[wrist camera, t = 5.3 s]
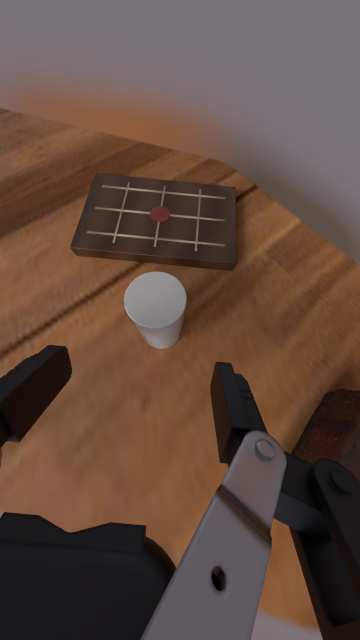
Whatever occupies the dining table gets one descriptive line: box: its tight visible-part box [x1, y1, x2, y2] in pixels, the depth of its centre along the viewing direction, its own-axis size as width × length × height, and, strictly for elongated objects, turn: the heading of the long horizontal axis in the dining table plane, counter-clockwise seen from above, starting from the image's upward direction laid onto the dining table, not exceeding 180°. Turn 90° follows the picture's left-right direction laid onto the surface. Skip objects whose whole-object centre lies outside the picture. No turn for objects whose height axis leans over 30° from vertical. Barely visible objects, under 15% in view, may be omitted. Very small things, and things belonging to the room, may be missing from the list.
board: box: [70, 173, 237, 271], centre depth 24 cm, size 20×13×2 cm, turn 85°
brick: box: [292, 389, 360, 481], centre depth 15 cm, size 11×4×5 cm, turn 140°
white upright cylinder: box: [124, 272, 187, 348], centre depth 17 cm, size 4×4×8 cm
